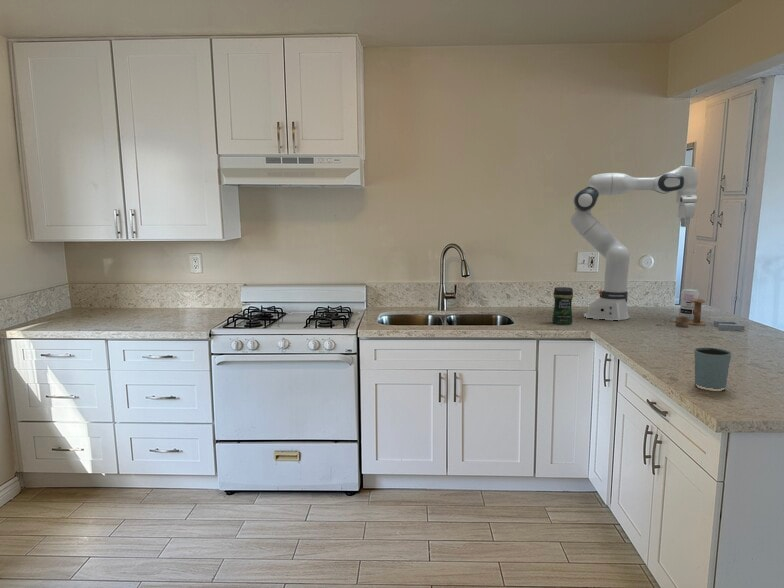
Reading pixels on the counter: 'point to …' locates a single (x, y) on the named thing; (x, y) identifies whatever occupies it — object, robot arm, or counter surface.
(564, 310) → the coffee jar
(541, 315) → the counter surface
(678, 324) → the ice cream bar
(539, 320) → the counter surface
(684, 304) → the supplement can
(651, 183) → the robot arm
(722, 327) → the notch board
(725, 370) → the teal cup
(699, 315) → the bobbin
